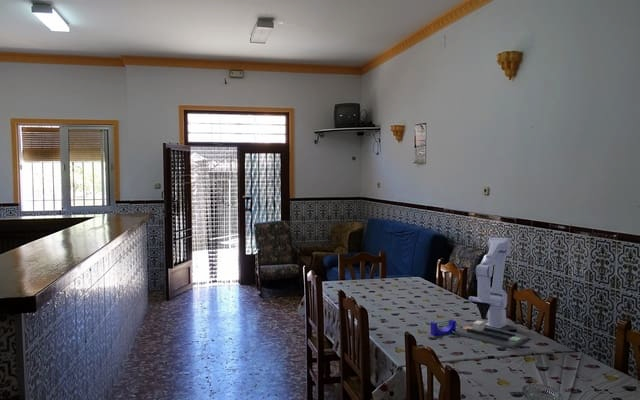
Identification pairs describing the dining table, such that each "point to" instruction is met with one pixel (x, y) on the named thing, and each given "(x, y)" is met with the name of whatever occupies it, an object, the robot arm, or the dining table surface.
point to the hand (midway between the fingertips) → (483, 318)
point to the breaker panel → (492, 335)
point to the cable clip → (444, 330)
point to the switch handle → (478, 325)
